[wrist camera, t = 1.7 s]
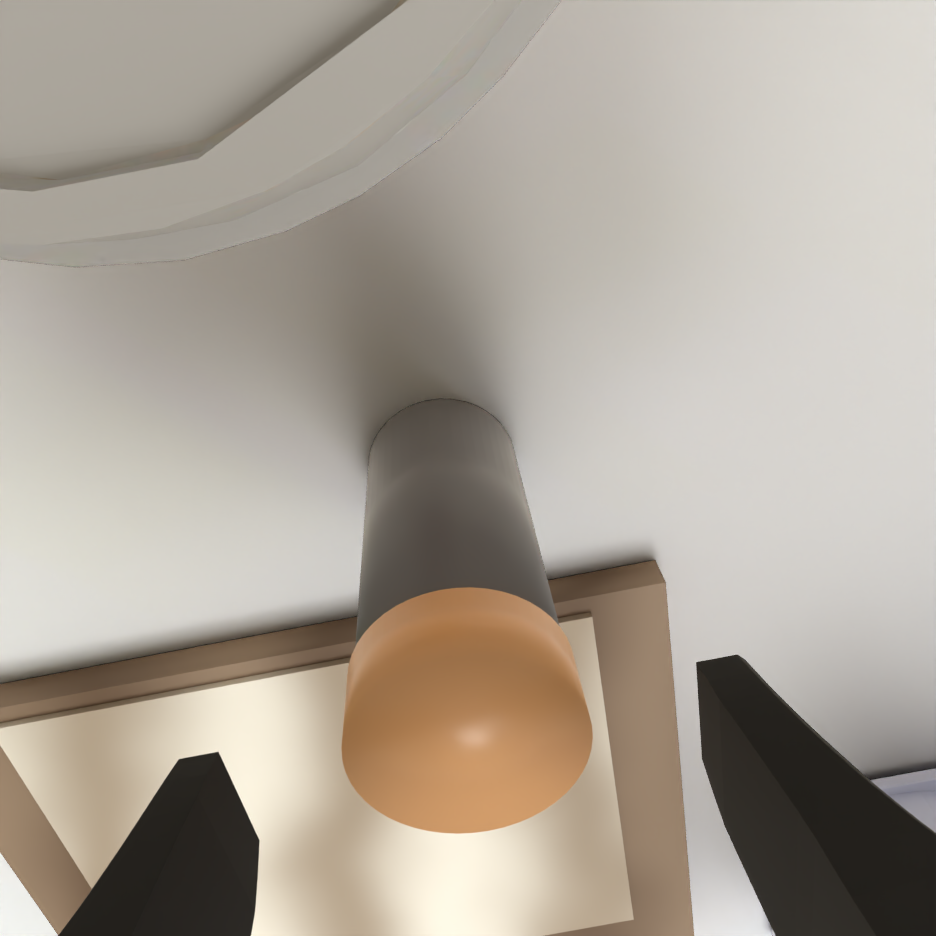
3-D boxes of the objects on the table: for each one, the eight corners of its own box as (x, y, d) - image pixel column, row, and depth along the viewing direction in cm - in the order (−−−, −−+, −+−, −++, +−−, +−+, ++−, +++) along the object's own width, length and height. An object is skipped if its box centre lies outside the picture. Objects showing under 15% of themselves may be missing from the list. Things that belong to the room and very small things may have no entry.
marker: (506, 381, 20) (578, 628, 12) (529, 515, 21) (604, 809, 14) (347, 412, 20) (311, 678, 12) (383, 543, 22) (374, 851, 14)
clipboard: (655, 560, 22) (676, 606, 21) (686, 919, 30) (704, 976, 28) (-71, 697, 23) (-109, 754, 21) (143, 1016, 30) (128, 1077, 29)
